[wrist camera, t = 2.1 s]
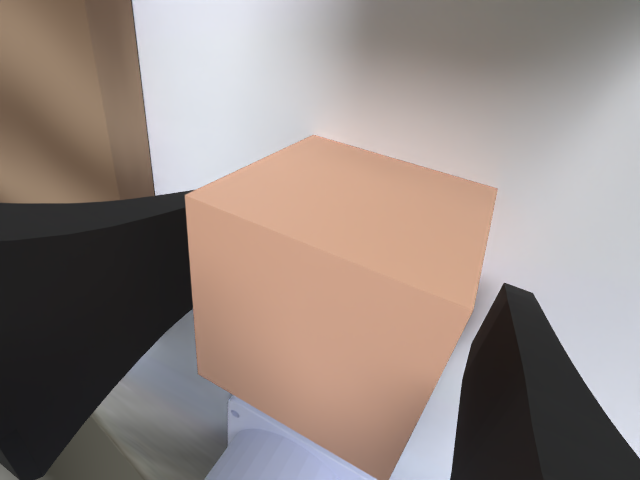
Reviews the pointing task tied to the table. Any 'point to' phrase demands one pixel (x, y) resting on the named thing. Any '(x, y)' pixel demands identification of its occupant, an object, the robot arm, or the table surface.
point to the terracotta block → (335, 290)
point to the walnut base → (71, 103)
